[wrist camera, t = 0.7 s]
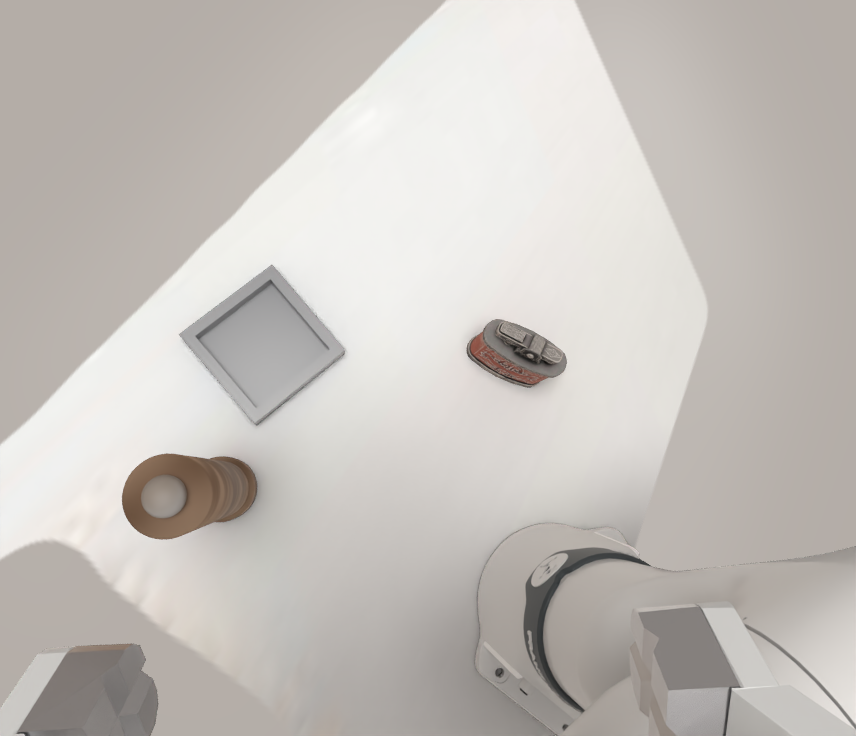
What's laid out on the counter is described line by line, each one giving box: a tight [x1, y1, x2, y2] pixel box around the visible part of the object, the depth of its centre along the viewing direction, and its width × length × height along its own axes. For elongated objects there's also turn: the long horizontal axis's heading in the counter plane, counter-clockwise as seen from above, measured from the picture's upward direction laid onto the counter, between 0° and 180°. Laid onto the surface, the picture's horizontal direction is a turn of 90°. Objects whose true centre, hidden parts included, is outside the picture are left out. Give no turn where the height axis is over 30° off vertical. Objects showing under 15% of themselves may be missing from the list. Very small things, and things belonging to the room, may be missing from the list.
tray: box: [179, 265, 345, 425], centre depth 62 cm, size 11×11×2 cm
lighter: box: [467, 319, 567, 387], centre depth 61 cm, size 8×3×10 cm, turn 64°
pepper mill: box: [122, 454, 257, 539], centre depth 48 cm, size 6×6×25 cm
